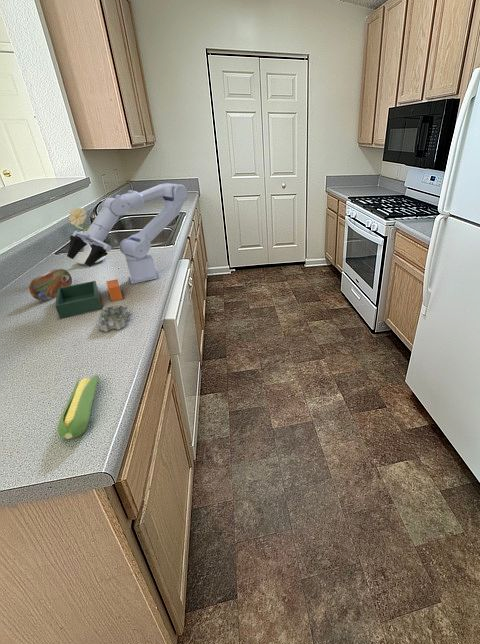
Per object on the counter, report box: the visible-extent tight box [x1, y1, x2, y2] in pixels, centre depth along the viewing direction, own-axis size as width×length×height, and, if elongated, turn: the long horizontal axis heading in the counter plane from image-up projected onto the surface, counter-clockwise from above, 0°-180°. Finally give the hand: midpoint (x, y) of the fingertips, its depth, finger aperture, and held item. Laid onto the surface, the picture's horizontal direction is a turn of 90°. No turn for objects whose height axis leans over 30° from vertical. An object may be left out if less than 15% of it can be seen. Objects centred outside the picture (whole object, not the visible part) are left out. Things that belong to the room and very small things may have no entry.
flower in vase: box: [68, 206, 106, 265], centre depth 144 cm, size 13×11×25 cm
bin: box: [54, 280, 102, 320], centre depth 113 cm, size 12×16×4 cm
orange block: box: [106, 278, 123, 302], centre depth 117 cm, size 4×7×5 cm, turn 31°
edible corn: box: [57, 374, 99, 440], centre depth 70 cm, size 5×20×5 cm, turn 19°
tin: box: [28, 268, 73, 301], centre depth 119 cm, size 15×3×8 cm, turn 168°
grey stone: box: [95, 305, 130, 333], centre depth 101 cm, size 11×8×4 cm
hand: (78, 261), depth 112 cm, fingers open, 7 cm apart
